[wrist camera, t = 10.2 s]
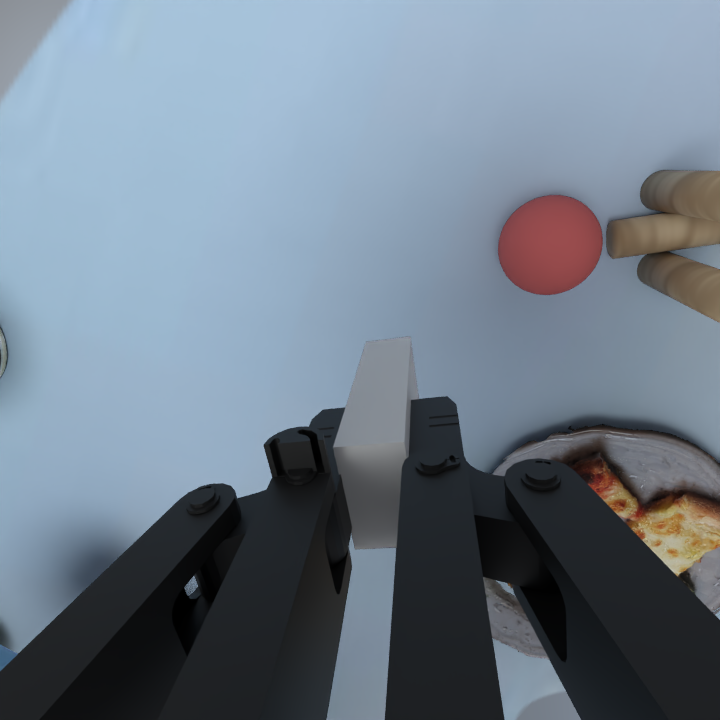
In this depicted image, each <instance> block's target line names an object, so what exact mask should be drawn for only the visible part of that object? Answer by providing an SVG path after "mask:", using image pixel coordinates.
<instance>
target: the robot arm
mask: <svg viewBox="0 0 720 720" xmlns="http://www.w3.org/2000/svg"><path fill="white" fill-rule="evenodd" d="M264 449H265V452H266V456H267V459H268V463H269V467H270V470H271V474H272V479H271V481H270V483H269V485H268V488H267V490H264V491H261V492H259V493H255V494H252V495H248V496H244V497H241V498H237V496H236V493H235V490H234V489H233V488H232V487H231V486H230V485H226V484H223V483H221V484H209V485H206V486H205V485H204V486H201V487H199V488H197V489H195V490H193V491H191V492H189V493H188V494H186V495H185V496H184V497H182V498H181V499H180V500H179V501H177V502H176V503H175V504H174V505H173V506H172V507H171V508H170V509H169V510H168V511H167V512H166V513H165V514H164V515H163V516H162V517H161V518H160V519H159V520H158V521H157V522H156V523H154V524H153V525H152V526H151V527H150V528H149V529H148V530H147V531H146V532H145V533H144V534H143V535H142V536H141V537H140V538H139V539H138V540H137V541H136V542H135V543H134V544H133V545H132V546H130V547H129V548H128V549H127V550H126V551H125V552H124V553H123V554H122V555H121V556H120V557H119V558H118V559H117V560H116V561H115V562H114V563H113V564H112V565H111V566H110V567H109V568H107V569H106V570H105V571H104V572H103V573H102V574H101V575H100V576H99V577H98V578H97V579H96V580H95V581H94V582H93V583H92V584H91V585H90V586H89V587H88V588H87V589H86V590H84V591H83V592H82V593H81V594H80V595H79V596H78V597H77V598H76V599H75V600H74V601H73V602H72V603H71V604H70V605H69V606H68V607H67V608H66V609H65V610H64V611H63V612H61V613H60V614H59V615H58V616H57V617H56V618H55V619H54V620H53V621H52V622H51V623H50V624H49V625H48V626H47V627H46V628H45V629H44V630H43V631H42V632H41V633H40V634H38V635H37V636H36V637H35V638H34V639H33V640H32V641H31V642H30V643H29V644H28V645H27V646H26V647H25V648H24V649H23V650H22V651H21V652H20V653H19V654H17V653H15V652H14V651H12V650H10V649H8V648H6V647H4V646H2V645H0V720H326V718H327V712H328V707H329V701H330V695H331V689H332V683H333V677H334V671H335V665H336V659H337V653H338V647H339V641H340V635H341V629H342V623H343V617H344V611H345V605H346V599H347V593H348V587H349V581H350V575H351V570H352V563H351V556H350V552H349V547H348V546H349V541H350V536H351V533H352V538H353V542H354V547H355V549H375V548H396V562H395V577H394V592H393V607H392V621H391V636H390V651H389V666H388V681H387V696H386V711H385V720H504V714H503V707H502V700H501V693H500V687H499V680H498V673H497V667H496V660H495V653H494V647H493V640H492V633H491V626H490V620H489V613H488V606H487V600H486V593H485V586H484V580H483V577H485V578H489V579H493V580H497V581H501V582H506V583H510V584H512V587H513V590H514V593H515V595H516V597H517V599H518V601H519V603H520V605H521V607H522V609H523V610H524V612H525V614H526V616H527V618H528V620H529V622H530V624H531V626H532V627H533V629H534V631H535V633H536V635H537V637H538V639H539V641H540V643H541V645H542V646H543V648H544V650H545V652H546V654H547V656H548V658H549V660H550V662H551V663H552V665H553V667H554V669H555V671H556V673H557V675H558V677H559V679H560V680H561V682H562V684H563V686H564V688H565V690H566V692H567V694H568V696H569V697H570V699H571V701H572V703H573V705H574V707H575V709H576V711H577V713H578V715H579V716H580V718H581V720H720V620H719V619H718V618H717V617H716V616H715V615H714V614H713V613H712V612H711V611H710V609H709V608H708V607H707V606H706V605H705V604H704V603H703V602H702V601H701V600H700V599H699V598H698V597H697V596H696V595H695V594H694V593H693V592H692V591H691V590H690V589H689V588H688V587H687V586H686V585H685V584H684V583H683V582H682V581H681V580H680V579H679V578H678V577H677V576H676V575H675V573H674V572H673V571H672V570H671V569H670V568H669V567H668V566H667V565H666V564H665V563H664V562H663V561H662V560H661V559H660V558H659V557H658V556H657V555H656V554H655V553H654V552H653V551H652V550H651V549H650V548H649V547H648V546H647V545H646V544H645V543H644V542H643V541H642V540H641V538H640V537H639V536H638V535H637V534H636V533H635V532H634V531H633V530H632V529H631V528H630V527H629V526H628V525H627V524H626V523H625V522H624V521H623V520H622V519H621V518H620V517H619V516H618V515H617V514H616V513H615V512H614V511H613V510H612V509H611V508H610V507H609V506H608V505H607V504H606V502H605V501H604V500H603V499H602V498H601V497H600V496H599V495H598V494H597V493H596V492H595V491H594V490H593V489H592V488H591V487H590V486H589V485H588V484H587V483H586V482H585V481H584V480H583V479H582V478H581V477H580V476H579V475H578V474H577V473H576V472H575V471H574V470H573V469H571V468H570V467H568V466H567V465H566V464H563V463H560V462H557V461H554V460H549V459H540V458H537V459H526V460H523V461H520V462H517V463H514V464H513V465H512V466H511V467H509V468H508V469H507V470H506V473H505V476H499V475H493V474H488V473H484V472H482V471H479V470H477V469H475V468H474V467H472V466H470V465H469V463H468V462H467V461H466V459H465V457H464V453H463V446H462V439H461V433H460V426H459V419H458V413H457V406H456V404H455V403H454V402H453V401H452V400H451V399H450V398H449V397H447V396H446V397H435V398H425V399H419V396H418V388H417V381H416V374H415V366H414V359H413V352H412V344H411V337H401V338H393V339H385V340H376V341H368V342H366V343H365V346H364V350H363V353H362V356H361V359H360V363H359V366H358V369H357V372H356V375H355V379H354V382H353V385H352V388H351V391H350V395H349V398H348V401H347V404H346V407H345V408H336V409H326V410H322V411H321V412H320V413H319V414H318V415H316V416H315V417H314V418H313V419H312V421H311V423H310V426H309V427H296V428H290V429H287V430H284V431H282V432H279V433H277V434H276V435H274V436H272V437H271V438H269V439H268V440H267V442H266V443H265V444H264ZM193 576H195V579H196V581H197V584H198V588H197V589H196V590H195V591H194V592H193V593H192V594H191V595H190V596H189V597H188V596H187V594H186V592H185V589H184V587H185V586H186V584H187V583H188V582H189V581H190V580H191V578H192V577H193Z"/></svg>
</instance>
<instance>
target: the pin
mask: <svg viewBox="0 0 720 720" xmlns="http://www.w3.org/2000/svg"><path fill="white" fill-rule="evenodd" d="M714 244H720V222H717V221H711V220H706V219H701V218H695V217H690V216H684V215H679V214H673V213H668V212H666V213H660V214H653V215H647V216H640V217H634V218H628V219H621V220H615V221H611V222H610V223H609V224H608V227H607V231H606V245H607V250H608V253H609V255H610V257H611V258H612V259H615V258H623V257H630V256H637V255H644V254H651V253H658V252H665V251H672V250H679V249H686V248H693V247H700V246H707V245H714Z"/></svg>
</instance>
